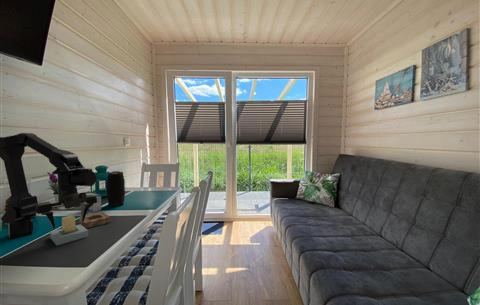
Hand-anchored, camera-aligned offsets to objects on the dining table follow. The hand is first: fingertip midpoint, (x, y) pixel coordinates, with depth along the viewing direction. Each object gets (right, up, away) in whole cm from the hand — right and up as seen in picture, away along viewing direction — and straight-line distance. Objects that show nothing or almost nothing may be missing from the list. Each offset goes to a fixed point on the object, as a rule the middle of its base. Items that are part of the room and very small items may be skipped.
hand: (68, 224), depth 88 cm
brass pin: (0, -5, 0) cm, 5 cm away
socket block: (0, -5, 0) cm, 5 cm away
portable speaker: (-5, -3, +44) cm, 44 cm away
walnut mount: (0, -4, +16) cm, 16 cm away
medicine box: (-13, -3, +34) cm, 37 cm away
